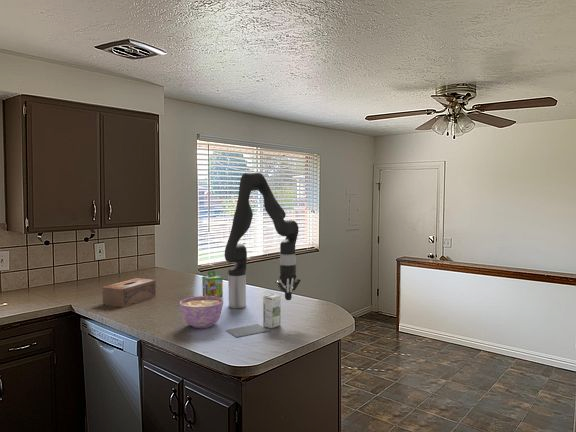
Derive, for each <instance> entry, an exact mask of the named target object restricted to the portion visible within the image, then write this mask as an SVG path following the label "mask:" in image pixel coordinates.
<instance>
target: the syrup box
mask: <svg viewBox="0 0 576 432" xmlns="http://www.w3.org/2000/svg"><path fill="white" fill-rule="evenodd" d="M262 298H263V309H262V311H263V314H262V315H263V319H262V320H263V321H262V322H263V323H262V324H263V325H262V326H263V327H265V328H267V329H268V328H269V329H275V328H277V327H280V326H281V310H282V309H281V306H282V305H281V301H282V300H281V295H279V294H277V293H269V294H266V295H263V297H262Z"/></svg>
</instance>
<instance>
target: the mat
mask: <svg viewBox="0 0 576 432" xmlns="http://www.w3.org/2000/svg"><path fill="white" fill-rule="evenodd" d="M225 331H226V332H227V333H229V334H231V336H233V337H235V338H241V337H247V336H251V335H256V334H261V333H267V332H270V330H269V329H268V328H267V327H264V326H263V325H261V324H259V323H255V324H250V325H245V326H239V327H234V328H228V329H226V330H225Z"/></svg>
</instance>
